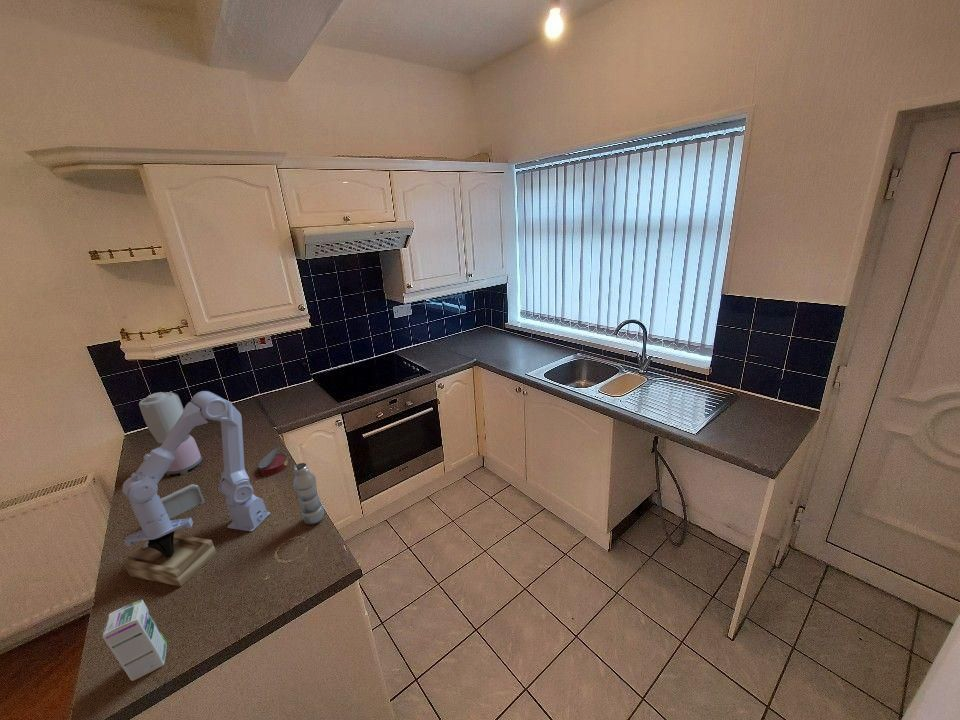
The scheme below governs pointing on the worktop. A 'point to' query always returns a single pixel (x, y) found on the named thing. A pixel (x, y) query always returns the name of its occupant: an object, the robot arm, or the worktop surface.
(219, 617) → the worktop surface
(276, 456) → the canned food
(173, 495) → the arched grey pull
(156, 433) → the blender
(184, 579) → the oak box
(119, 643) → the syrup box
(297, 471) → the plastic bottle
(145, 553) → the lid plate
